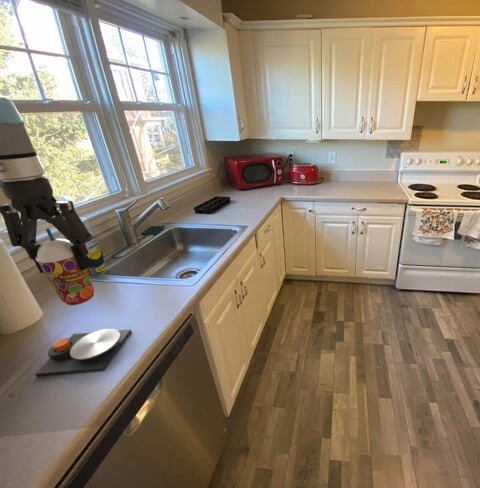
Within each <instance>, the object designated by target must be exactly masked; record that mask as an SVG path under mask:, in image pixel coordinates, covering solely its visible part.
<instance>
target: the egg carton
mask: <svg viewBox="0 0 480 488" xmlns="http://www.w3.org/2000/svg"><path fill="white" fill-rule="evenodd" d="M230 203H231V196H217V195H216V196H214V197H211V198H209V199H208V200H206V201H204V202H202V203H200V204H197V205H196V206H194V207H193V208H192V210H193V211H194V213H195V214H205V215H209V214H210V215H211V214H212V213H214V212H216V211H218V209H221V208H222V207H224V206H226V205H227V204H230Z"/></svg>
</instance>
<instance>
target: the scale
mask: <svg viewBox="0 0 480 488" xmlns="http://www.w3.org/2000/svg"><path fill="white" fill-rule="evenodd" d="M117 330H118V331H119V333H120V338H119V340H118V342H117V343H116V344H115V345H114V346H113V347H112V348H111V349H109V350H108V351H106V352H105V353H103V354H101V355H98V356H96V357H93V358H90V359H85V360H77V359H74V358H72V357H71V355H70V350H71V348H72V347H73V345H74V344H75V343H76V342H77V341H79V340H80V339H81V338H83V337H85V336H86V335H88V334H90V333H93V332H94V331H93V332H82V333H81V332H80V333H73V334H72V335H71V336H70V337H69V338H67V339H68V340H69V342H70V344H71V346H70V347H69V348H67V349H66V350H64V351H61V352H56V351H55V349H54V347H53V345H52V346H51V347H50V348H49V349H48V350H47V355H48V358H49V359H48V360H47V361H46V362H45V363H44V364H43V365H42V366H41V367H40V368H39V369H38V370H37V371H36V372H35V373H34V375H35V377H36V378H41V377H42V378H43V377H52V376H62V375H73V374H85V373H96V372H105V371H106V369H107V368H108V367H109V366H110V363H111V362H112V360H113V359H114V358H115V356H116V355H117V354H118V352H119V351H120V350H121V348H122V347H123V346H124V344H125V343H126V341H127V340H128V338H129V337H130V336H131V334H132V329H117Z"/></svg>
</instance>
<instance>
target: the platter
mask: <svg viewBox="0 0 480 488" xmlns="http://www.w3.org/2000/svg"><path fill="white" fill-rule="evenodd" d="M118 330H119V329H116V328H103V329H99V330H95V331H93V333H92V332H89V333H90V334H88V335H86V336H85V337H83V338H81V339H80V340H79V341H77V342H76V343H75V344H74V345H73V347H72V348H71V350H70V355H71V357H72V358H74V359H77V360H85V359H90V358H93V357H96V356H98V355H101V354H103V353H105V352H106V351H108V350H109V349H111V348H112V347H113V346H114V345H115V344H116V343H117V342H118V340H119V338H120V333H119V331H118Z"/></svg>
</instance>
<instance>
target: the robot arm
mask: <svg viewBox="0 0 480 488" xmlns="http://www.w3.org/2000/svg"><path fill="white" fill-rule="evenodd" d="M45 174H46V170H45V168H44V166H43V164H42V162H41V159H40V157H39V155H38V154H37V151H36V150H35V147H34V145H33V143H32V140H31V137H30V135H29V132H28V131H27V128H26V126H25V121H24V120H23V118H22V117H21V115H20V112H19V110H18V109H17V107H16V104H15V103H14V102H13V101H12V100H11V99H9V98H7V97H0V180H1V181H0V189H1V190H2V192H3V194H4V196H5V198H6V199H8V200H10V202H8V203H4V204H1V205H0V214H1V216H2V217H3V221H4V224H5V228H6V231H7V235H8V238H9V241H10V245H11V246H12V247H14V248H16V247H20V248H23V249H24V250H25V251H26V254H27V256H28V257H29V259H30V260H32V261H33V262H34V264H35V266H36V268H37V269H38V271H39V273H40V274H45V273H44V272H43V270H42V268H41V267H40V265H39V264H38V262H37V261H36V257H37V251H38V249H39V247H40V246H41V245H42V243H39V241H38V240H37V231H38V229H37V228H38V220H41V221H45V222H46V223H48V224H50V225H52V226H53V227H54V228H55V229H56V230H57V231H58V232H59V233H60V234H61V235H63V237H65V239H66V240H69V241H70V242H71V243H72V244H73V245H72V246H71V247H70V248H71V250H72V252H73V254H74V257H75V259H76V261H77V263H78V266H79V268H80V270H85V269H86V268H87V269H88V268H89V267H90V266H92V264H91V262H90V259H89V257H88V255H89V250H88V248H87V245H86V242H88V241H90V240H91V239H92V238H93V236H92V235H91V233H90V231H89V230H88V228H87V227H86V225H85V224H84V223H83V221H82V219H81V217H80V216H79V214H78V212H77V211H76V210H75V206H74V202H73V201H71V200H67V201H60V200H59V201H58V199H57V198H55V196H54V189H53V186H52V185H51V182H50V180H49V178H48V177H47V176H45Z"/></svg>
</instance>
